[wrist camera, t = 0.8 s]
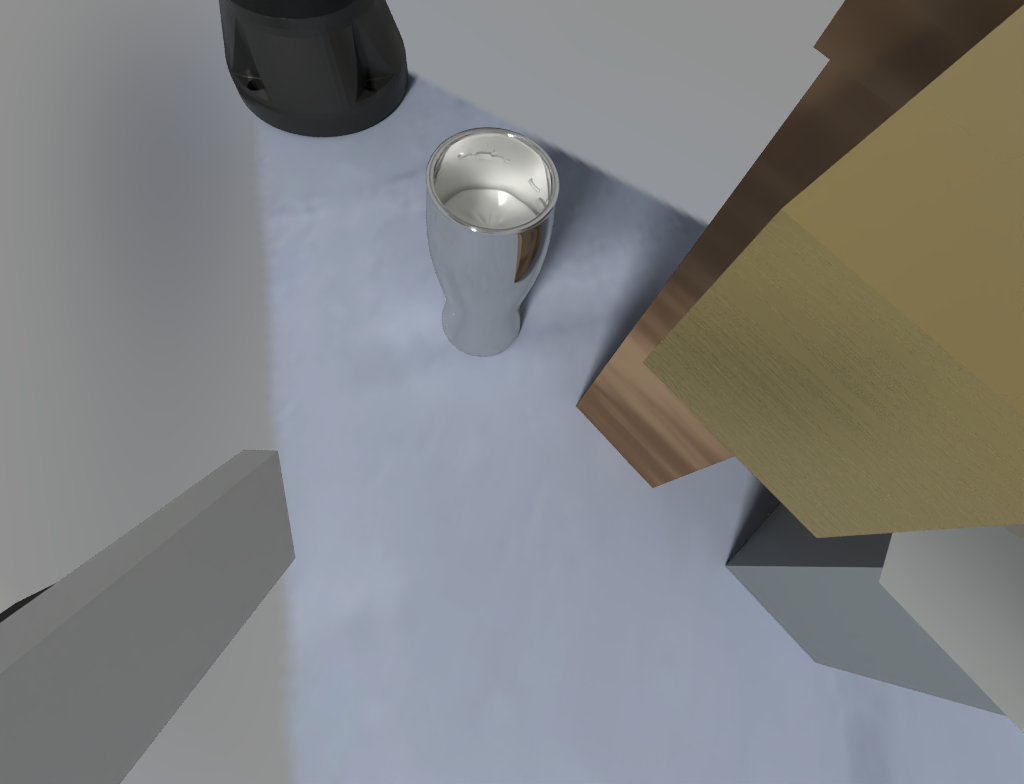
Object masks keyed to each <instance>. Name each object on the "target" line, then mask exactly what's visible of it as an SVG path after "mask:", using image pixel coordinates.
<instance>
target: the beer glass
mask: <svg viewBox="0 0 1024 784" xmlns="http://www.w3.org/2000/svg"><path fill="white" fill-rule="evenodd" d="M426 185H427V193H426V226H427V239H428V245H429V252H430V256H431V260H432V263H433V266H434V270H435V273H436V275H437V278H438V280H439V283H440V285H441V288H442V290H443V292H444V295H445V297H446V302H445V305H444V308H443V312H442V326H443V330H444V333H445V335H446V337H447V338H448V340H449V341H450V342H451V344H452V345H453V346H455V347H456V348H457V349H459V350H460V351H462V352H464V353H466V354H469V355H472V356H478V357H486V356H492V355H496V354H498V353H501V352H503V351H504V350H506V349H507V348H508V347H509V346H510V345H511V344H512V343H513V342H514V341H515V339H516V338H517V336H518V333H519V330H520V325H521V317H520V309H519V307H520V305H521V303H522V301H523V300H524V298H525V297H526V295H527V293H528V292H529V290H530V288H531V287H532V285H533V284H534V282H535V280H536V278H537V276H538V274H539V272H540V270H541V268H542V265H543V263H544V259H545V256H546V253H547V250H548V247H549V243H550V238H551V234H552V228H553V222H554V216H555V208H556V202H557V198H558V194H559V177H558V173H557V170H556V167H555V165H554V163H553V161H552V160H551V158H550V157H549V156H548V154H547V153H546V152H545V151H544V150H543V149H542V148H541V147H540V146H539V145H538V144H536V143H535V142H534V141H532V140H531V139H529V138H527V137H525V136H523V135H521V134H519V133H516V132H513V131H510V130H506V129H501V128H491V127H483V128H474V129H469V130H466V131H462V132H460V133H457V134H455V135H453V136H451V137H450V138H448V139H447V140H445V141H444V142H443V143H442V144H441V145H440V146H439V147H438V148H437V149H436V150H435V151H434V153H433V154H432V156H431V158H430V160H429V162H428V166H427V170H426Z"/></svg>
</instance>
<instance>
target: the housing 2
mask: <svg viewBox="0 0 1024 784" xmlns="http://www.w3.org/2000/svg"><path fill="white" fill-rule="evenodd" d="M891 537H892V533H882V534H868V535H854V536H839V537H825V538H816V537H815V536H814V535H813V534H812V533H811V532H810V531H809V530H808V529H807V528H806V527H805V526H804V525H803V524H802V523H801V522H800V521H799V520H798V519H797V518H796V517H795V516H794V515H793V514H792V513H791V512H790V511H789V510H788V509H787V508H786V507H785V506H784V505H783V504H782V503H780V504H779V505H778V506H777V507H776V508H775V510H774V511H773V512H772V513H771V514H770V515H769V516H768V518H767V519H766V520H765V521H764V522H763V523H762V524H761V526H760V527H759V528H758V529H757V530H756V531H755V532H754V534H753V535H752V536H751V537H750V538H749V539H748V540H747V542H746V543H745V544H744V545H743V546H742V547H741V548H740V550H739V551H738V552H737V553H736V554H735V555H734V556H733V558H732V559H731V560H730V561H729V562H728V563H727V564H726V567H727V568H728V569H729V570H730V571H731V572H732V573H733V575H734V576H735V577H736V578H737V579H738V580H739V581H740V582H741V583H742V584H743V585H744V586H745V587H746V588H747V590H748V591H749V592H750V593H751V594H752V595H753V596H754V597H755V598H756V599H757V600H758V601H759V602H760V603H761V604H762V606H763V607H764V608H765V609H766V610H767V611H768V612H769V613H770V614H771V615H772V616H773V617H774V618H775V619H776V621H777V622H778V623H779V624H780V625H781V626H782V627H783V628H784V629H785V630H786V631H787V632H788V633H789V634H790V636H791V637H792V638H793V639H794V640H795V641H796V642H797V643H798V644H799V645H800V646H801V647H802V648H803V649H804V651H805V652H806V653H807V654H808V655H809V656H810V657H811V658H812V659H813V660H814V661H815V662H816V663H819V664H823V665H826V666H830V667H833V668H837V669H841V670H844V671H848V672H851V673H855V674H858V675H862V676H865V677H869V678H873V679H876V680H880V681H883V682H887V683H890V684H894V685H897V686H901V687H905V688H908V689H912V690H915V691H919V692H922V693H926V694H929V695H933V696H937V697H940V698H944V699H947V700H951V701H954V702H958V703H961V704H965V705H969V706H972V707H976V708H979V709H983V710H986V711H990V712H993V713H997V714H1001V715H1004V716H1007V715H1006V714H1005V713H1004V712H1003V711H1002V710H1001V709H1000V708H999V707H998V706H997V705H996V704H995V703H994V702H993V701H992V700H991V699H990V698H989V697H988V696H987V695H986V694H985V692H984V691H983V690H982V689H981V688H980V687H979V686H978V685H977V684H976V683H975V682H974V681H973V680H972V679H971V678H970V677H969V676H968V675H967V674H966V673H965V672H964V671H963V670H962V669H961V667H960V666H959V665H958V664H957V663H956V662H955V661H954V660H953V659H952V658H951V657H950V656H949V655H948V654H947V653H946V652H945V651H944V650H943V649H942V648H941V647H940V646H939V645H938V644H937V642H936V641H935V640H934V639H933V638H932V637H931V636H930V635H929V634H928V633H927V632H926V631H925V630H924V629H923V628H922V627H921V626H920V625H919V624H918V623H917V622H916V621H915V620H914V619H913V618H912V616H911V615H910V614H909V613H908V612H907V611H906V610H905V609H904V608H903V607H902V606H901V605H900V604H899V603H898V602H897V601H896V600H895V599H894V598H893V597H892V596H891V595H890V594H889V593H888V591H887V590H886V589H885V588H884V587H883V586H882V585H881V584H880V583H879V580H880V576H881V573H882V569H883V566H884V562H885V558H886V555H887V551H888V548H889V544H890V540H891Z"/></svg>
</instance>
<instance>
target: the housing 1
mask: <svg viewBox="0 0 1024 784" xmlns="http://www.w3.org/2000/svg"><path fill="white" fill-rule="evenodd" d="M1023 5H1024V0H845V1H844V3H843V5H842V6H841V7H840V9H839V10H838V12H837V13H836V15H835V16H834V18H833V19H832V21H831V22H830V23H829V25H828V26H827V28H826V29H825V31H824V32H823V34H822V35H821V37H820V38H819V40H818V41H817V43H816V44H815V46H814V48H815V49H817V50H818V51H819V52H821V53H822V54H824V55H825V56H826V57H827V58H829V59H830V61H829V62H828V63H827V65H826V66H825V68H824V69H823V70H822V71H821V73H820V74H819V76H818V77H817V78H816V80H815V81H814V82H813V84H812V85H811V86H810V88H809V89H808V91H807V92H806V93H805V95H804V96H803V97H802V99H801V100H800V102H799V103H798V104H797V106H796V107H795V108H794V110H793V111H792V112H791V114H790V115H789V117H788V118H787V119H786V121H785V122H784V123H783V125H782V126H781V127H780V129H779V130H778V132H777V133H776V134H775V136H774V137H773V138H772V140H771V141H770V142H769V144H768V145H767V146H766V148H765V149H764V151H763V152H762V153H761V155H760V156H759V157H758V159H757V160H756V161H755V163H754V164H753V166H752V167H751V168H750V170H749V171H748V172H747V174H746V175H745V177H744V178H743V179H742V181H741V182H740V183H739V185H738V186H737V187H736V189H735V190H734V191H733V193H732V194H731V196H730V197H729V198H728V200H727V201H726V202H725V204H724V205H723V206H722V208H721V209H720V211H719V212H718V213H717V215H716V216H715V217H714V219H713V220H712V221H711V223H710V224H709V225H708V227H707V228H706V230H705V231H704V232H703V234H702V235H701V236H700V238H699V239H698V240H697V242H696V243H695V245H694V246H693V247H692V249H691V250H690V251H689V253H688V254H687V255H686V257H685V258H684V260H683V261H682V262H681V264H680V265H679V266H678V268H677V269H676V270H675V272H674V273H673V275H672V276H671V277H670V279H669V280H668V281H667V283H666V284H665V285H664V287H663V288H662V290H661V291H660V292H659V294H658V295H657V296H656V298H655V299H654V300H653V302H652V303H651V305H650V306H649V307H648V309H647V310H646V311H645V313H644V314H643V315H642V317H641V318H640V319H639V321H638V322H637V324H636V325H635V326H634V328H633V329H632V330H631V332H630V333H629V334H628V336H627V337H626V339H625V340H624V341H623V343H622V344H621V345H620V347H619V348H618V349H617V351H616V352H615V354H614V355H613V356H612V358H611V359H610V360H609V362H608V363H607V364H606V366H605V367H604V369H603V370H602V371H601V373H600V374H599V375H598V377H597V378H596V379H595V381H594V382H593V384H592V385H591V386H590V388H589V389H588V390H587V392H586V393H585V394H584V396H583V397H582V399H581V400H580V401H579V403H578V404H577V405H576V406H577V408H578V409H579V410H580V411H581V412H582V413H583V414H584V415H585V416H586V417H587V418H588V419H589V420H590V421H591V423H592V424H593V425H594V426H595V427H596V428H597V429H598V430H599V431H600V432H601V433H602V434H603V435H604V436H605V437H606V439H607V440H608V441H609V442H610V443H611V444H612V445H613V446H614V447H615V448H616V449H617V450H618V451H619V452H620V454H621V455H622V456H623V457H624V458H625V459H626V460H627V461H628V462H629V463H630V464H631V465H632V466H633V467H634V469H635V470H636V471H637V472H638V473H639V474H640V475H641V476H642V477H643V478H644V479H645V480H646V481H647V482H648V483H649V485H650V486H651V487H652V488H654V487H656V486H659V485H662V484H664V483H667V482H669V481H672V480H674V479H677V478H680V477H682V476H685V475H687V474H690V473H692V472H695V471H697V470H700V469H703V468H705V467H708V466H710V465H713V464H715V463H718V462H721V461H723V460H726V459H728V458H731V457H733V456H735V455H734V454H733V453H732V452H731V451H730V450H729V449H728V448H727V447H726V446H725V445H724V444H723V443H722V442H721V441H720V440H719V439H718V438H717V437H716V436H715V435H714V434H713V433H712V432H711V431H710V430H709V429H708V428H707V427H706V426H705V425H704V424H703V423H702V422H701V421H700V420H699V419H698V418H697V417H696V416H695V415H694V414H693V413H692V412H691V411H690V410H689V409H688V408H687V407H686V406H685V405H684V404H683V403H682V402H681V401H680V400H679V399H678V398H677V397H676V396H675V395H674V394H673V393H672V392H671V391H670V390H669V389H668V388H667V387H666V386H665V385H664V384H663V383H662V382H661V381H660V380H659V379H658V378H657V377H656V376H655V375H654V374H653V373H652V372H651V371H650V370H649V369H648V368H647V367H646V366H645V365H644V364H643V363H642V362H643V361H644V360H645V359H646V358H647V357H648V356H649V355H650V353H651V352H652V351H653V350H654V349H655V348H656V347H657V346H658V345H659V343H660V342H661V341H662V340H663V339H664V338H665V337H666V336H667V335H668V334H669V332H670V331H671V330H672V329H673V328H674V327H675V326H676V325H677V324H678V322H679V321H680V320H681V319H682V318H683V317H684V316H685V315H686V314H687V313H688V311H689V310H690V309H691V308H692V307H693V306H694V305H695V304H696V303H697V301H698V300H699V299H700V298H701V297H702V296H703V295H704V294H705V293H706V292H707V290H708V289H709V288H710V287H711V286H712V285H713V284H714V283H715V282H716V281H717V279H718V278H719V277H720V276H721V275H722V274H723V273H724V272H725V271H726V269H727V268H728V267H729V266H730V265H731V264H732V263H733V262H734V261H735V260H736V258H737V257H738V256H739V255H740V254H741V253H742V252H743V251H744V250H745V248H746V247H747V246H748V245H749V244H750V243H751V242H752V241H753V240H754V239H755V237H756V236H757V235H758V234H759V233H760V232H761V231H762V230H763V229H764V227H765V226H766V225H767V224H768V223H769V222H770V221H771V220H772V219H773V218H774V216H775V215H776V214H777V213H778V212H779V211H780V210H781V209H782V208H783V207H784V206H785V205H787V204H788V203H789V202H790V201H791V200H792V199H794V198H795V197H796V196H797V195H798V194H800V193H801V192H802V191H803V190H804V189H806V188H807V187H808V186H809V185H810V184H811V183H813V182H814V181H815V180H816V179H817V178H819V177H820V176H821V175H822V174H823V173H825V172H826V171H827V170H828V169H829V168H830V167H832V166H833V165H834V164H835V163H836V162H838V161H839V160H840V159H841V158H842V157H843V156H845V155H846V154H847V153H848V152H849V151H851V150H852V149H853V148H854V147H855V146H857V145H858V144H859V143H860V142H861V141H862V140H864V139H865V138H866V137H867V136H868V135H870V134H871V133H872V132H873V131H874V130H876V129H877V128H878V127H879V126H880V125H881V124H883V123H884V122H885V121H886V120H887V119H889V118H890V117H891V116H892V115H893V114H895V113H896V112H897V111H898V110H899V109H900V108H902V107H903V106H904V105H905V104H906V103H908V102H909V101H910V100H911V99H912V98H914V97H915V96H916V95H917V94H918V93H919V92H921V91H922V90H923V89H924V88H925V87H927V86H928V85H929V84H930V83H931V82H932V81H934V80H935V79H936V78H937V77H938V76H940V75H941V74H942V73H943V72H944V71H946V70H947V69H948V68H949V67H950V66H951V65H953V64H954V63H955V62H956V61H957V60H959V59H960V58H961V57H962V56H963V55H965V54H966V53H967V52H968V51H969V50H970V49H972V48H973V47H974V46H975V45H976V44H978V43H979V42H980V41H981V40H982V39H984V38H985V37H986V36H987V35H988V34H989V33H991V32H992V31H993V30H994V29H995V28H997V27H998V26H999V25H1000V24H1001V23H1003V22H1004V21H1005V20H1006V19H1007V18H1008V17H1010V16H1011V15H1012V14H1013V13H1014V12H1016V11H1017V10H1018V9H1019V8H1020V7H1022V6H1023Z"/></svg>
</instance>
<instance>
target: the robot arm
mask: <svg viewBox="0 0 1024 784" xmlns="http://www.w3.org/2000/svg"><path fill="white" fill-rule="evenodd" d="M219 5H220V14H221V23H222V31H223V40H224V48H225V57H226V62H227V66H228V69H229V72H230V75H231V77H232V79H233V81H234V83H235V85H236V88H237V90H238V92H239V94H240V96H241V98H242V100H243V101H244V103H245V104H246V106H247V107H248V108H249V109H250V110H251V111H252V112H253V113H254V114H255V115H256V116H257V117H259V118H260V119H261V120H263V121H265V122H266V123H268V124H270V125H272V126H274V127H276V128H278V129H281V130H283V131H286V132H289V133H293V134H298V135H303V136H311V137H333V136H341V135H347V134H351V133H355V132H358V131H361V130H364V129H366V128H368V127H371V126H373V125H374V124H376V123H378V122H380V121H381V120H383V119H384V118H385V117H387V116H388V115H389V114H390V113H391V112H392V111H393V110H394V109H395V108H396V107H397V106H398V104H399V103H400V101H401V100H402V98H403V96H404V94H405V91H406V88H407V83H408V71H407V62H406V53H405V47H404V43H403V40H402V37H401V35H400V32H399V30H398V28H397V26H396V23H395V21H394V19H393V16H392V14H391V12H390V10H389V7H388V5H387V3H386V0H219ZM294 559H295V553H294V547H293V541H292V534H291V528H290V522H289V516H288V510H287V504H286V498H285V492H284V486H283V480H282V473H281V467H280V461H279V455H278V451H267V450H264V451H263V450H243V451H242V452H240V453H239V454H237V455H236V456H235V457H234V458H232V459H230V460H229V461H228V462H226V463H225V464H223V465H222V466H221V467H219V468H218V469H216V470H215V471H213V472H212V473H211V474H209V475H208V476H206V477H205V478H204V479H202V480H201V481H200V482H198V483H197V484H195V485H194V486H192V487H191V488H190V489H188V490H187V491H185V492H184V493H182V494H181V495H180V496H178V497H177V498H175V499H174V500H173V501H171V502H170V503H168V504H167V505H166V506H164V507H163V508H161V509H160V510H159V511H157V512H156V513H154V514H153V515H151V516H150V517H149V518H147V519H146V520H145V521H143V522H142V523H140V524H139V525H137V526H136V527H135V528H133V529H132V530H130V531H129V532H128V533H126V534H125V535H123V536H122V537H120V538H119V539H118V540H116V541H115V542H114V543H112V544H111V545H109V546H108V547H106V548H105V549H104V550H102V551H101V552H99V553H98V554H97V555H95V556H94V557H92V558H91V559H90V560H88V561H87V562H85V563H84V564H82V565H81V566H80V567H78V568H77V569H75V570H74V571H73V572H71V573H70V574H68V575H67V576H66V577H64V578H63V579H61V580H60V581H59V582H57V583H55V584H53V585H51V586H49V587H47V588H45V589H43V590H41V591H39V592H37V593H35V594H33V595H31V596H29V597H27V598H25V599H23V600H21V601H19V602H17V603H15V604H14V605H12V606H11V607H9V608H8V609H7V610H5V611H4V612H2V613H1V614H0V784H120V783H121V782H122V780H123V779H124V778H125V777H126V775H127V774H128V773H129V771H130V770H131V769H132V768H133V766H134V765H135V764H136V762H137V761H138V760H139V759H140V757H141V756H142V755H143V753H144V752H145V751H146V750H147V748H148V747H149V746H150V744H151V743H152V742H153V741H154V739H155V738H156V737H157V735H158V734H159V733H160V732H161V730H162V729H163V728H164V726H165V725H166V724H167V723H168V721H169V720H170V719H171V717H172V716H173V715H174V714H175V712H176V711H177V709H178V708H179V707H180V706H181V705H182V703H183V702H184V700H185V699H186V698H187V697H188V695H189V694H190V693H191V692H192V690H193V689H194V688H195V687H196V685H197V684H198V683H199V681H200V680H201V679H202V677H203V676H204V675H205V674H206V672H207V671H208V670H209V668H210V667H211V666H212V665H213V663H214V662H215V661H216V659H217V658H218V657H219V655H220V654H221V653H222V652H223V650H224V649H225V648H226V646H227V645H228V644H229V643H230V641H231V640H232V639H233V638H234V636H235V635H236V634H237V632H238V631H239V630H240V629H241V627H242V626H243V625H244V623H245V622H246V621H247V619H248V618H249V617H250V616H251V614H252V613H253V612H254V611H255V609H256V608H257V607H258V605H259V604H260V603H261V602H262V600H263V599H264V598H265V596H266V595H267V594H268V592H269V591H270V590H271V589H272V587H273V586H274V585H275V583H276V582H277V581H278V580H279V578H280V577H281V576H282V575H283V573H284V572H285V571H286V569H287V568H288V567H289V565H290V564H291V563H292V562H293V560H294ZM879 583H880V584H881V585H882V586H883V587H884V588H885V589H886V590H887V591H888V593H889V594H890V595H891V596H892V597H893V598H894V599H895V600H896V601H897V602H898V603H899V604H900V605H901V606H902V607H903V608H904V609H905V610H906V611H907V612H908V613H909V614H910V615H911V616H912V618H913V619H914V620H915V621H916V622H917V623H918V624H919V625H920V626H921V627H922V628H923V629H924V630H925V631H926V632H927V633H928V634H929V635H930V636H931V637H932V638H933V639H934V640H935V641H936V642H937V644H938V645H939V646H940V647H941V648H942V649H943V650H944V651H945V652H946V653H947V654H948V655H949V656H950V657H951V658H952V659H953V660H954V661H955V662H956V663H957V664H958V665H959V666H960V667H961V669H962V670H963V671H964V672H965V673H966V674H967V675H968V676H969V677H970V678H971V679H972V680H973V681H974V682H975V683H976V684H977V685H978V686H979V687H980V688H981V689H982V690H983V691H984V692H985V694H986V695H987V696H988V697H989V698H990V699H991V700H992V701H993V702H994V703H995V704H996V705H997V706H998V707H999V708H1000V709H1001V710H1002V711H1003V712H1004V713H1005V714H1006V715H1007V716H1008V717H1009V719H1010V720H1011V721H1012V722H1013V723H1014V724H1015V725H1016V726H1017V727H1018V728H1019V729H1020V730H1021V731H1022V732H1023V733H1024V524H1012V525H997V526H983V527H969V528H954V529H940V530H926V531H911V532H897V533H892V537H891V540H890V544H889V548H888V551H887V555H886V558H885V562H884V566H883V569H882V573H881V576H880V580H879Z"/></svg>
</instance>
